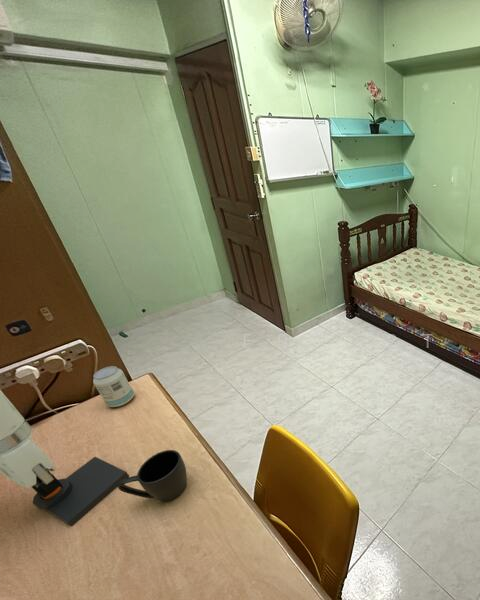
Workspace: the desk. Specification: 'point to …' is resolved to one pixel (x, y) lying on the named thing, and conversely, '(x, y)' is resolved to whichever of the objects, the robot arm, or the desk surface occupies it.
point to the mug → (159, 477)
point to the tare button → (53, 493)
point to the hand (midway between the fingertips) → (51, 490)
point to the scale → (82, 490)
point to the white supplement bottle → (113, 386)
